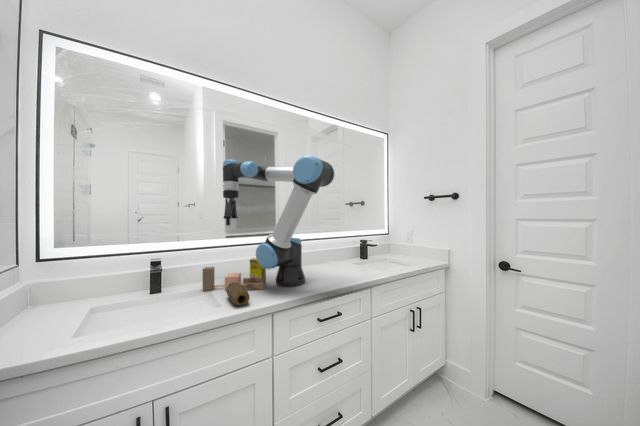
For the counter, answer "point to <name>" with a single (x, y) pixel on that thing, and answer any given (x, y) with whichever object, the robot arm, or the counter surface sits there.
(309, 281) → the counter surface
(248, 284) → the wooden stand
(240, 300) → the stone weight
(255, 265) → the supplement box
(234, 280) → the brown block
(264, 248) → the robot arm
